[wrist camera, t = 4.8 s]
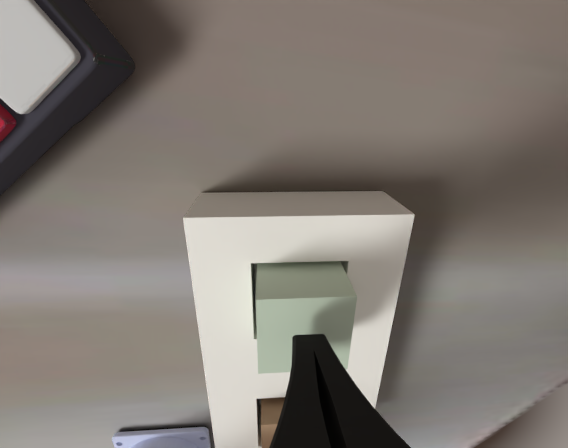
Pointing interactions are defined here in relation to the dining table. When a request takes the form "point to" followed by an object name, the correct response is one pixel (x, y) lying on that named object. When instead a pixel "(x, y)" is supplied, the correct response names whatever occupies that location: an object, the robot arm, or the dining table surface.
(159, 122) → the dining table surface
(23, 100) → the calculator
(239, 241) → the key panel
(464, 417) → the dining table surface
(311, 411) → the robot arm
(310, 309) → the sage key
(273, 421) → the walnut key
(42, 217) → the dining table surface
